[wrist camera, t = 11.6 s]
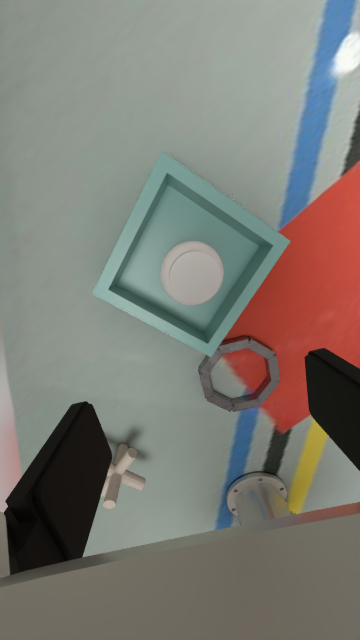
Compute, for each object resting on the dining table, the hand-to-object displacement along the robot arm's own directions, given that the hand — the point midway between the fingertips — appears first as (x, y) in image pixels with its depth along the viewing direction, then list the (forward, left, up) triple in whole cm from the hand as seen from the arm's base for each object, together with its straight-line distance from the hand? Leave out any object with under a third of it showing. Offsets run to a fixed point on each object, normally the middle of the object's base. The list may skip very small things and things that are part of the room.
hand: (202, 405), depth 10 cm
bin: (+1, -4, -26) cm, 26 cm away
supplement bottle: (+1, -4, -25) cm, 25 cm away
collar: (-16, +7, -26) cm, 31 cm away
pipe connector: (-6, +31, -26) cm, 41 cm away
